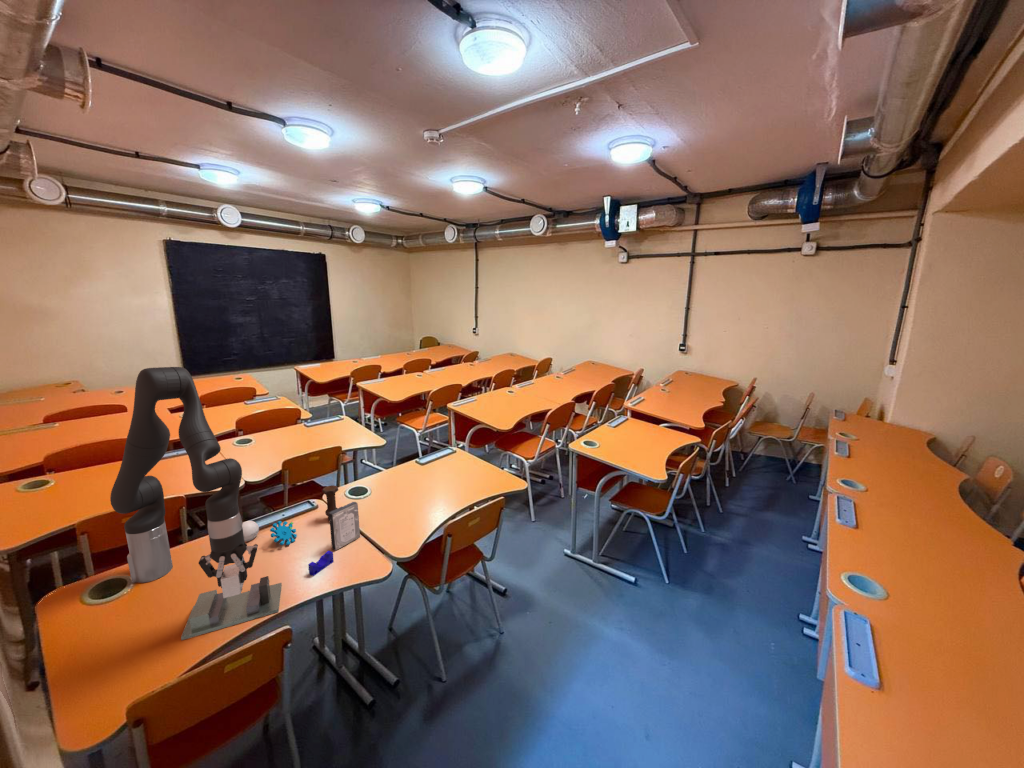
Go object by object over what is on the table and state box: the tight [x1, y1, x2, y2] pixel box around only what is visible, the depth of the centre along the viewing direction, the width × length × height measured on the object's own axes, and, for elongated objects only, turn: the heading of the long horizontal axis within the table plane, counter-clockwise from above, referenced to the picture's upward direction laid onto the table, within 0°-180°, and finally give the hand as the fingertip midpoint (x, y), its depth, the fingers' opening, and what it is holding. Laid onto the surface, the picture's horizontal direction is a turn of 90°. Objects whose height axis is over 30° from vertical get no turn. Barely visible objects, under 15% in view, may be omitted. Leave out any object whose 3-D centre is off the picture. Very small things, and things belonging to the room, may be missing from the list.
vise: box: [180, 582, 283, 641], centre depth 109 cm, size 22×12×5 cm, turn 117°
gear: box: [269, 520, 298, 546], centre depth 142 cm, size 11×6×10 cm
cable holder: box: [308, 550, 334, 577], centre depth 128 cm, size 8×4×4 cm, turn 156°
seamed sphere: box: [242, 520, 260, 543], centre depth 142 cm, size 10×7×7 cm
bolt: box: [322, 484, 339, 522], centre depth 155 cm, size 6×5×15 cm
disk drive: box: [328, 501, 361, 551], centre depth 141 cm, size 10×3×15 cm, turn 145°
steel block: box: [221, 563, 245, 598], centre depth 108 cm, size 4×6×6 cm, turn 27°
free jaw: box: [246, 576, 270, 615], centre depth 112 cm, size 5×10×6 cm, turn 27°
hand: (233, 583), depth 108 cm, fingers closed on steel block, 4 cm apart
